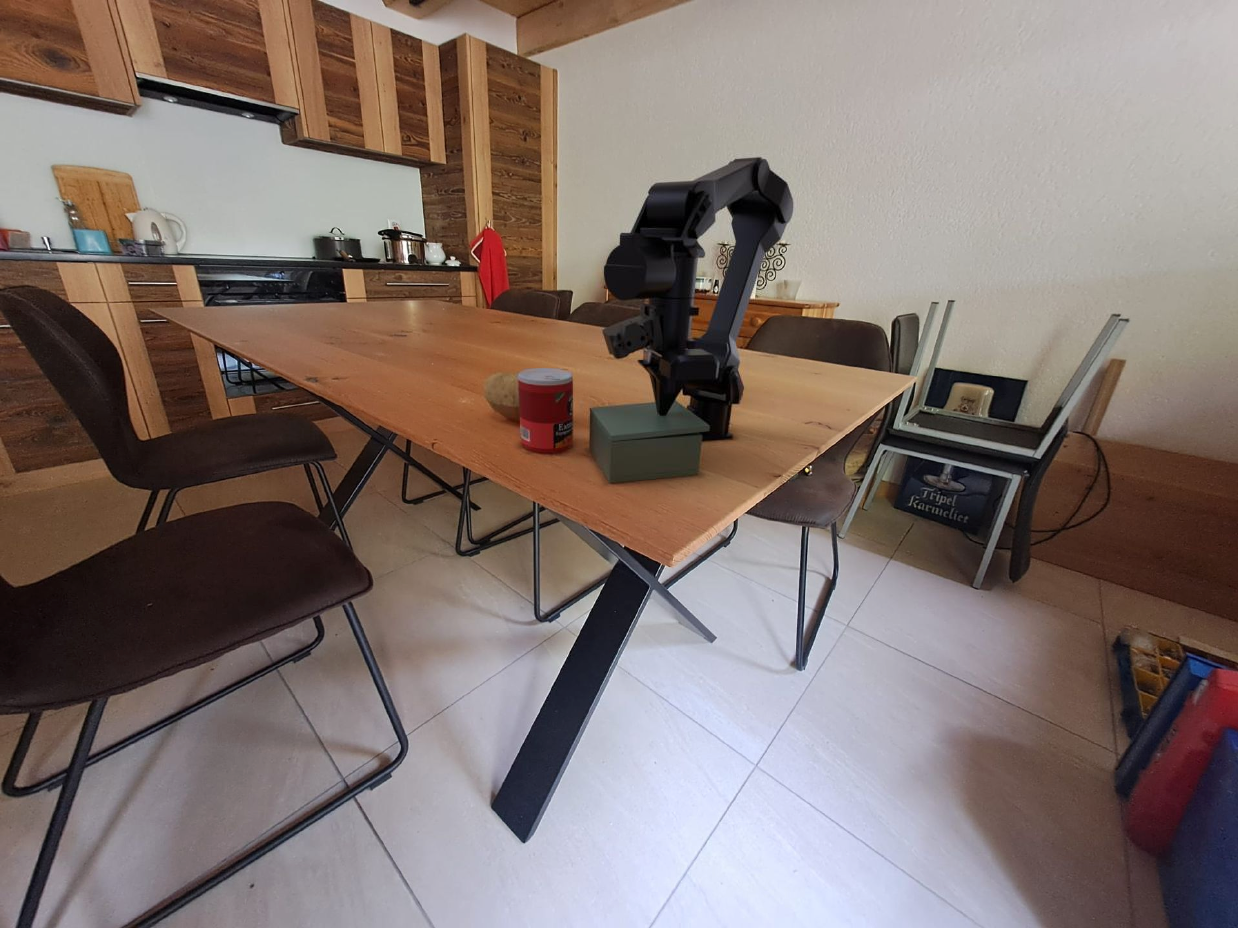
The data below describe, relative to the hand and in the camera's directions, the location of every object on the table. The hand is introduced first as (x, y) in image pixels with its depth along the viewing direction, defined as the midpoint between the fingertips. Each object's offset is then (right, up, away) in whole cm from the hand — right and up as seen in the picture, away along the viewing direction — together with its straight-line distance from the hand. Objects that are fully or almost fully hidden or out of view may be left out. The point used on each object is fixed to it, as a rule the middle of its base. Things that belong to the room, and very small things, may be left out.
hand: (661, 414), depth 66 cm
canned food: (-17, -4, +7) cm, 19 cm away
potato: (-22, +1, +17) cm, 28 cm away
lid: (-2, -1, 0) cm, 2 cm away
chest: (-3, -7, +2) cm, 8 cm away
